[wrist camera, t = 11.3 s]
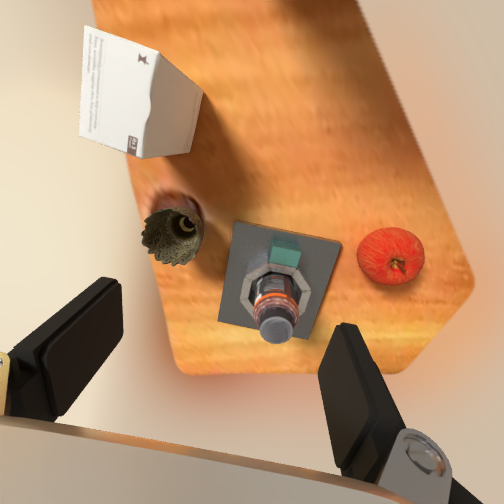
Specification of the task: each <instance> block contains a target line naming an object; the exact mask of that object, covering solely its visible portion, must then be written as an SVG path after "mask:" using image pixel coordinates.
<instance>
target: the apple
mask: <svg viewBox="0 0 504 504" xmlns="http://www.w3.org/2000/svg"><path fill="white" fill-rule="evenodd" d="M424 258H425V256H424V248H423V245H422V243H421V241H420V240H419V239H418V238H417V237H416V236H415V235H414V234H412V233H411V232H409V231H406V230H404V229H400V228H382V229H378V230H376V231H374V232H372V233H370V234H369V235H367V236H366V237H365V238H364V239H363V241H362V242H361V243H360V245H359V247H358V249H357V261H358V264H359V266H360V268H361V269H362V271H363V272H364V273H365V274H366V275H367V276H368V277H369V278H370V279H371V280H373V281H374V282H376V283H379V284H383V285H391V286H394V285H400V284H404V283H407V282H410V281H412V280H413V279H414V278H415V277H416V276H417V275H418V273H419V271H420V270H421V268H422V267H423V264H424Z"/></svg>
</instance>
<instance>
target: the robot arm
mask: <svg viewBox="0 0 504 504" xmlns="http://www.w3.org/2000/svg"><path fill="white" fill-rule="evenodd" d="M122 336H123V310H122V287H121V284H119V283H118V281H117V280H116V279H113V278H107V277H101V278H99V279H98V280H96V282H94V283H93V284H92V285H91V286H89V287H88V288H87V289H85V290H84V291H83V292H82V293H80V294H79V295H78V296H77V297H75V298H74V299H73V300H72V301H70V302H69V303H68V304H67V305H65V306H64V307H63V308H62V309H60V310H59V311H58V312H57V313H55V314H54V315H53V316H52V317H51V318H49V319H48V320H47V321H46V322H44V323H43V324H42V325H41V326H39V327H38V328H37V329H36V330H35V331H33V332H32V333H31V334H29V335H28V336H27V337H26V338H24V339H23V340H22V341H21V342H20V343H18V344H17V345H16V346H14V347H13V348H14V349H12V350H11V351H10V352H9V353H8V354H6V353H3V352H0V504H483V503H482V502H481V501H479V500H478V499H477V498H476V497H475V496H474V495H472V494H471V493H470V492H469V491H468V490H467V489H465V488H464V487H463V486H462V485H461V484H460V483H458V482H457V481H456V480H455V479H454V478H453V477H452V468H451V466H450V463H449V460H448V459H447V457H446V455H445V454H444V452H443V451H442V450H441V449H440V447H439V446H438V445H437V444H436V443H435V442H434V441H433V440H431V438H429V437H428V436H426V435H425V434H423V433H422V432H420V431H417V430H415V429H409V428H406V426H405V424H404V422H403V420H402V417H401V415H400V413H399V411H398V409H397V407H396V405H395V403H394V400H393V398H392V397H391V394H390V392H389V390H388V388H387V386H386V383H385V381H384V379H383V377H382V375H381V373H380V371H379V369H378V366H377V365H376V363H375V362H374V361H373V359H372V357H371V355H370V353H369V350H368V348H367V346H366V344H365V342H364V340H363V337H362V335H361V333H360V331H359V329H358V327H357V325H354V324H349V323H341V324H340V325H337V326H336V327H335V330H334V332H333V335H332V337H331V340H330V342H329V344H328V347H327V349H326V352H325V354H324V357H323V359H322V362H321V364H320V367H319V370H318V380H319V384H320V390H321V395H322V400H323V405H324V410H325V415H326V420H327V425H328V430H329V435H330V440H331V445H332V449H333V455H334V460H335V464H336V466H337V467H338V468H340V469H341V474H342V476H339V475H334V474H329V473H325V472H320V471H314V470H310V469H306V468H301V467H295V466H290V465H285V464H279V463H274V462H269V461H264V460H258V459H253V458H248V457H243V456H238V455H232V454H227V453H221V452H216V451H210V450H205V449H200V448H194V447H189V446H184V445H178V444H173V443H167V442H162V441H156V440H151V439H145V438H140V437H135V436H129V435H123V434H118V433H111V432H106V431H101V430H95V429H90V428H84V427H78V426H73V425H66V424H60V423H54V421H55V420H56V419H57V418H58V417H59V416H63V415H64V414H65V413H66V412H67V411H68V409H69V408H70V407H71V405H72V404H73V403H74V401H75V400H76V399H77V397H78V396H79V395H80V393H81V392H82V391H83V389H84V388H85V387H86V385H87V384H88V383H89V382H90V380H91V379H92V377H93V376H94V375H95V374H96V372H97V371H98V370H99V368H100V367H101V366H102V364H103V363H104V362H105V360H106V359H107V358H108V356H109V355H110V353H111V352H112V351H113V349H114V348H115V347H116V346H117V344H118V343H119V342H120V340H121V338H122Z"/></svg>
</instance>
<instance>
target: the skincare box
mask: <svg viewBox="0 0 504 504" xmlns="http://www.w3.org/2000/svg"><path fill="white" fill-rule="evenodd" d="M203 92H204V91H203V90H202V89H201V88H200V87H199V86H198V85H196V84H195V83H194V82H193V81H192V80H190V79H189V78H188V77H187V76H186V75H184V74H183V73H182V72H181V71H180V70H179V69H178V68H176V67H175V66H174V65H173V64H172V63H170V62H169V61H168V60H167V59H166V58H165V57H164V56H162V55H161V53H160V52H159V51H156V50H153V49H151V48H148V47H146V46H143V45H140V44H138V43H135V42H132V41H130V40H127V39H124V38H121V37H118V36H116V35H113V34H110V33H107V32H104V31H101V30H99V29H95V28H93V27H90V26H87V25H85V28H84V46H83V65H82V83H81V103H80V122H79V136H80V137H83V138H86V139H89V140H91V141H94V142H97V143H100V144H103V145H105V146H108V147H111V148H113V149H116V150H119V151H122V152H124V153H127V154H130V155H132V156H135V157H138V158H140V159H147V158H154V157H161V156H169V155H176V154H184V153H190V150H191V146H192V141H193V137H194V133H195V128H196V124H197V120H198V115H199V110H200V105H201V100H202V96H203Z"/></svg>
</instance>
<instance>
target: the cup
mask: <svg viewBox="0 0 504 504" xmlns="http://www.w3.org/2000/svg"><path fill="white" fill-rule="evenodd" d="M186 218H189V220H190V221H191V222H192V223H193V224H194V226H193V227H192V228H187V227H185V225H184V220H185V219H186ZM144 222H145V223H146V225H145V230H144V231H143V232H142V233H141V235H142V236H143V239H142V244H143V245H144V246H146V247H148V248H149V250H148V254H153V253H155V259H156V260H157V261H161V262H162V264H168V263H170V262H172V264H171V266H175V265H176V264H180V265H185V264H187V263H188V262H189V261H190V260H191V259H194V257H195V256H196V253H197V252H198V250H199V247H200V245H201V242H202V240H203V236H204V227H203V223H202V221H201V219H200V217H199V216H198V215H197V214H196V213H195V212H194V211H192V210H190V209H188V208H185V207H171V208H166V209H162V210H158V211H155V212H153V213H151V214H150V215H149V217H148V218H146V219H145V221H144Z"/></svg>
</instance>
